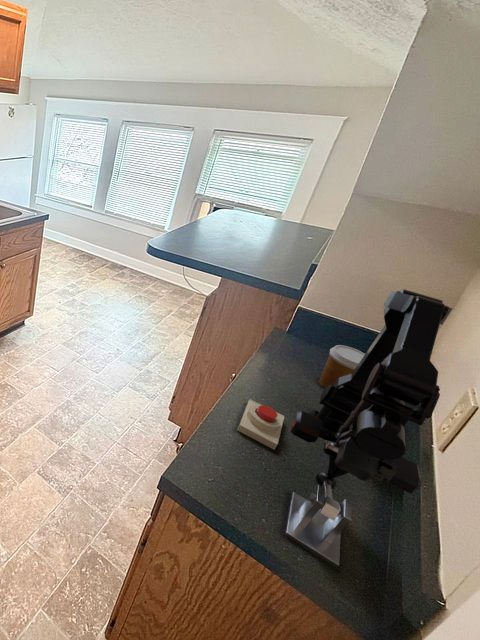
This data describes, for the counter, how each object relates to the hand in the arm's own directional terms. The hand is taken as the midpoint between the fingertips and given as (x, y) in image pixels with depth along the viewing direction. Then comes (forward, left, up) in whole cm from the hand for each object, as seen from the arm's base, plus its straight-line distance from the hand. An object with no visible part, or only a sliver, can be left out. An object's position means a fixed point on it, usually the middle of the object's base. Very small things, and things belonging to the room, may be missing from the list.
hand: (329, 476), depth 77 cm
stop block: (-12, -12, -6) cm, 19 cm away
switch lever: (+5, 0, -2) cm, 5 cm away
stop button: (-12, -12, -3) cm, 18 cm away
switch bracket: (+10, 0, -6) cm, 11 cm away
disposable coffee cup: (-46, +1, -6) cm, 47 cm away
